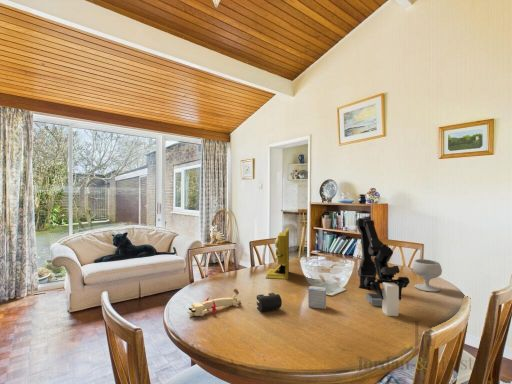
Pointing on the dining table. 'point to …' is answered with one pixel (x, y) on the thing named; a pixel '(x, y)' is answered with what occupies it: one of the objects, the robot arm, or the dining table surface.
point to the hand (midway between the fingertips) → (391, 299)
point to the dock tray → (374, 299)
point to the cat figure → (213, 304)
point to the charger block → (390, 299)
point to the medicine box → (317, 297)
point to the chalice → (427, 273)
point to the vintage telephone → (281, 257)
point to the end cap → (269, 302)
